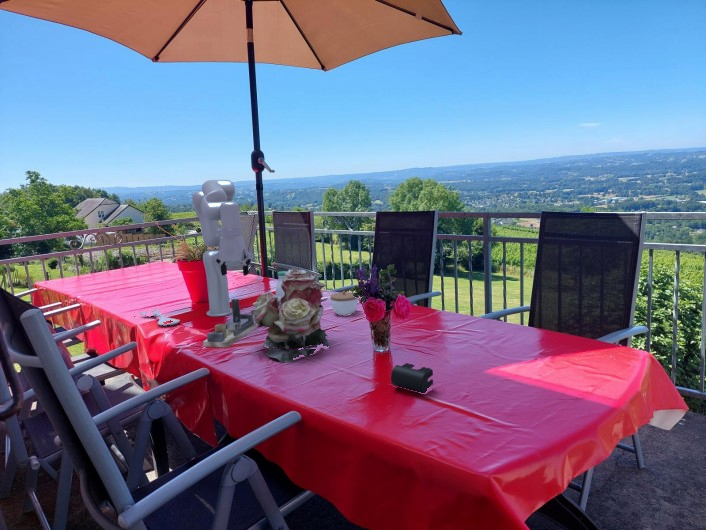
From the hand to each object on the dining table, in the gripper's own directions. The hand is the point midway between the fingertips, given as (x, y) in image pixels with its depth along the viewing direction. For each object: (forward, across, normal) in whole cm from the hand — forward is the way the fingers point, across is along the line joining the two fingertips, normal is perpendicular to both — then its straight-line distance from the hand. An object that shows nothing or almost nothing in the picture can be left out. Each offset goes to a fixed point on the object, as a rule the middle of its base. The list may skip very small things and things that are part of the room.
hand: (235, 274), depth 186 cm
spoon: (+25, -48, +13) cm, 56 cm away
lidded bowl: (+25, +37, +32) cm, 55 cm away
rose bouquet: (+25, +31, -16) cm, 43 cm away
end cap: (+24, +77, -44) cm, 92 cm away
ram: (+22, -1, -1) cm, 22 cm away
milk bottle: (+25, +7, +32) cm, 41 cm away
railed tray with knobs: (+24, -1, -5) cm, 25 cm away
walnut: (+22, -1, -13) cm, 26 cm away
